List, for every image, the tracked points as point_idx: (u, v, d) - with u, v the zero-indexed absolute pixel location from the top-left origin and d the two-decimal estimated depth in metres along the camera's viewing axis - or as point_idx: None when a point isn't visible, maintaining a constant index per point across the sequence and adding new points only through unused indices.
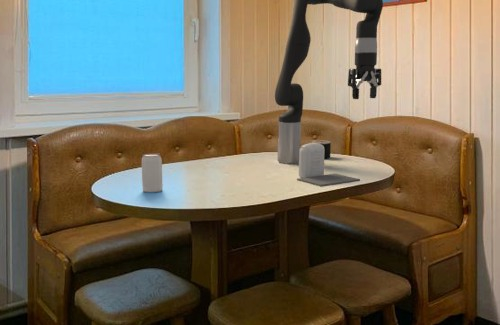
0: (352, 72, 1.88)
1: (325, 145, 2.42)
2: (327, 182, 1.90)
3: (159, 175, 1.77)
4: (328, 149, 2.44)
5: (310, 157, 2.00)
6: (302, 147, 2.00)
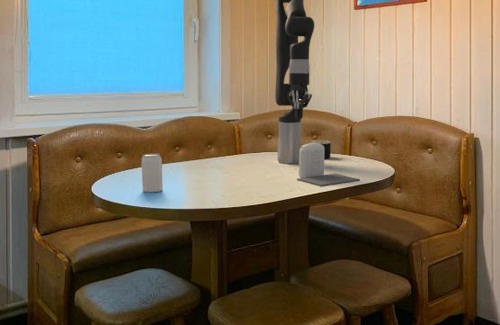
0: (309, 98, 2.02)
1: (325, 145, 2.42)
2: (327, 182, 1.90)
3: (159, 175, 1.77)
4: (328, 149, 2.44)
5: (310, 157, 2.00)
6: (302, 147, 2.00)
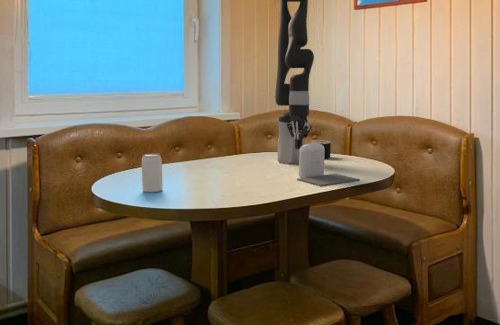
0: (309, 129, 2.03)
1: (325, 145, 2.42)
2: (327, 182, 1.90)
3: (159, 175, 1.77)
4: (328, 149, 2.44)
5: (310, 157, 2.00)
6: (302, 147, 2.00)
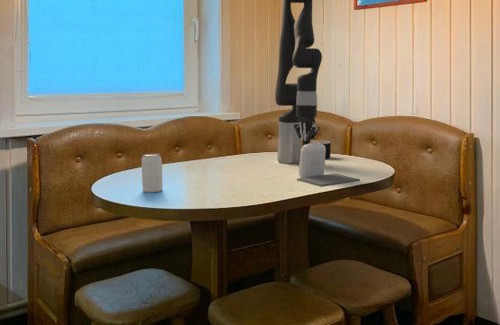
0: (317, 130, 1.99)
1: (325, 145, 2.42)
2: (327, 182, 1.90)
3: (159, 175, 1.77)
4: (328, 149, 2.44)
5: (311, 157, 1.99)
6: (303, 147, 1.99)
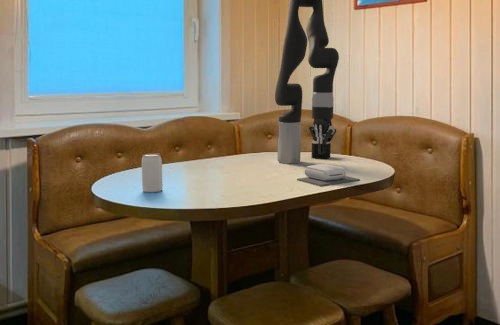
0: (334, 133, 1.92)
1: None
2: (327, 182, 1.90)
3: (159, 175, 1.77)
4: (328, 149, 2.44)
5: None
6: (325, 176, 1.90)
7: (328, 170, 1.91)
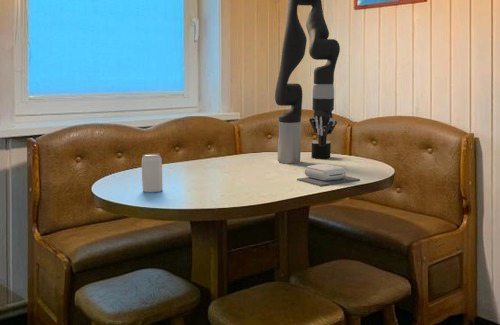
0: (334, 125, 1.91)
1: None
2: (327, 182, 1.90)
3: (159, 175, 1.77)
4: (328, 149, 2.44)
5: None
6: (325, 176, 1.90)
7: (328, 170, 1.91)
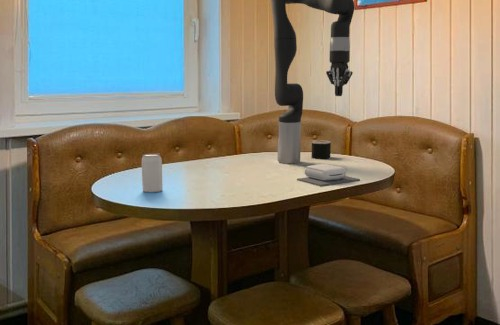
0: (350, 75, 2.05)
1: (325, 145, 2.42)
2: (327, 182, 1.90)
3: (159, 175, 1.77)
4: (328, 149, 2.44)
5: None
6: (325, 176, 1.90)
7: (328, 170, 1.91)
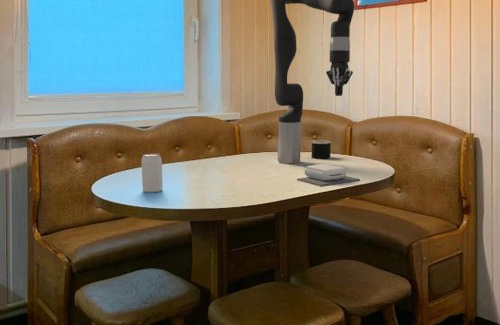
0: (350, 75, 2.05)
1: (325, 145, 2.42)
2: (327, 182, 1.90)
3: (159, 175, 1.77)
4: (328, 149, 2.44)
5: None
6: (325, 176, 1.90)
7: (328, 170, 1.91)
